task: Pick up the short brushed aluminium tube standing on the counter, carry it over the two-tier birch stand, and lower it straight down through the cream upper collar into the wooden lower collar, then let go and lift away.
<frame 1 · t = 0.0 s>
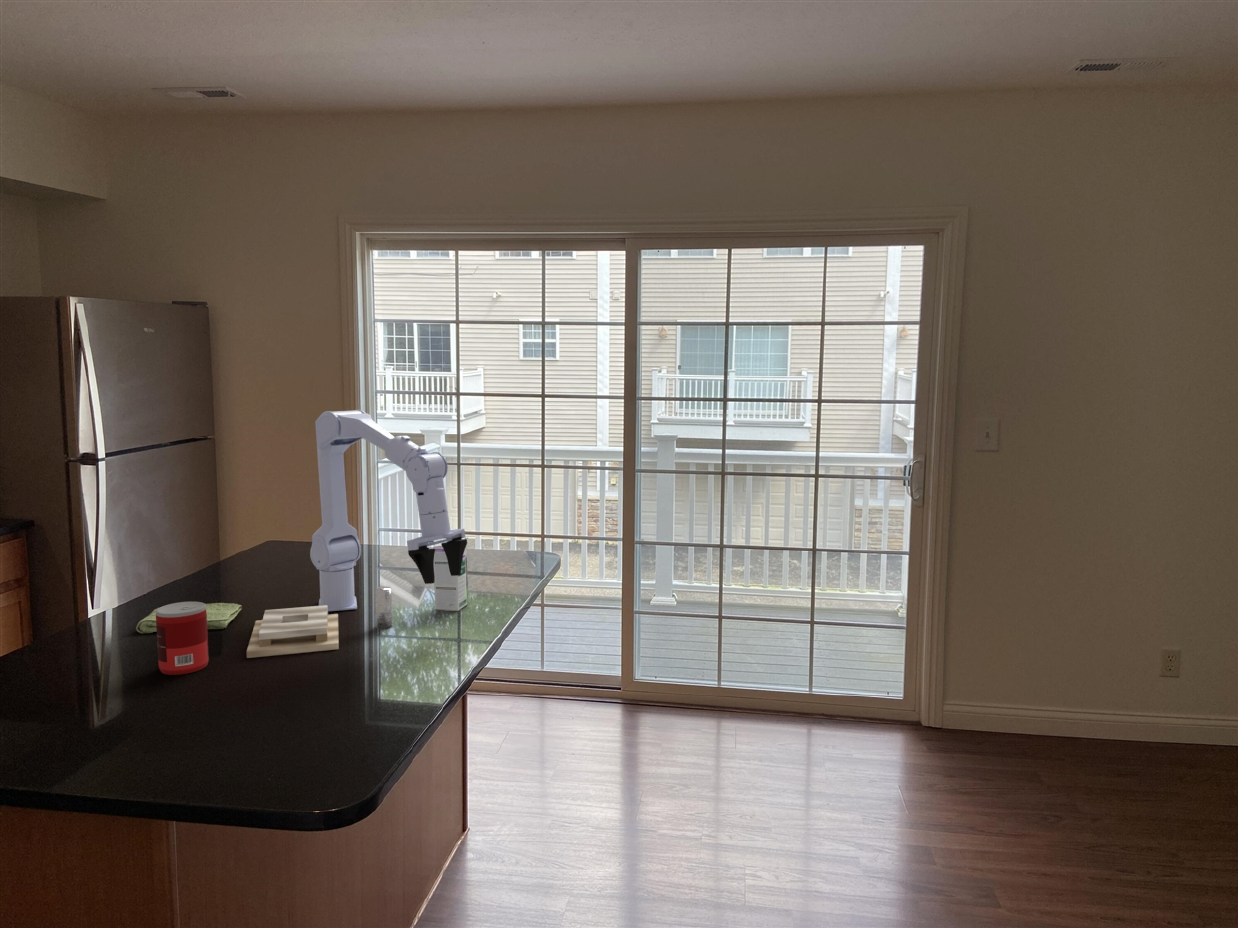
hand: (443, 579, 170), 11 cm above the table, tool pointing down, fingers open, 7 cm apart
syrup box: (451, 607, 188), on the table
washcloth: (191, 625, 176), on the table
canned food: (184, 668, 149), on the table
collar stand: (295, 637, 166), on the table
tube: (384, 626, 173), on the table
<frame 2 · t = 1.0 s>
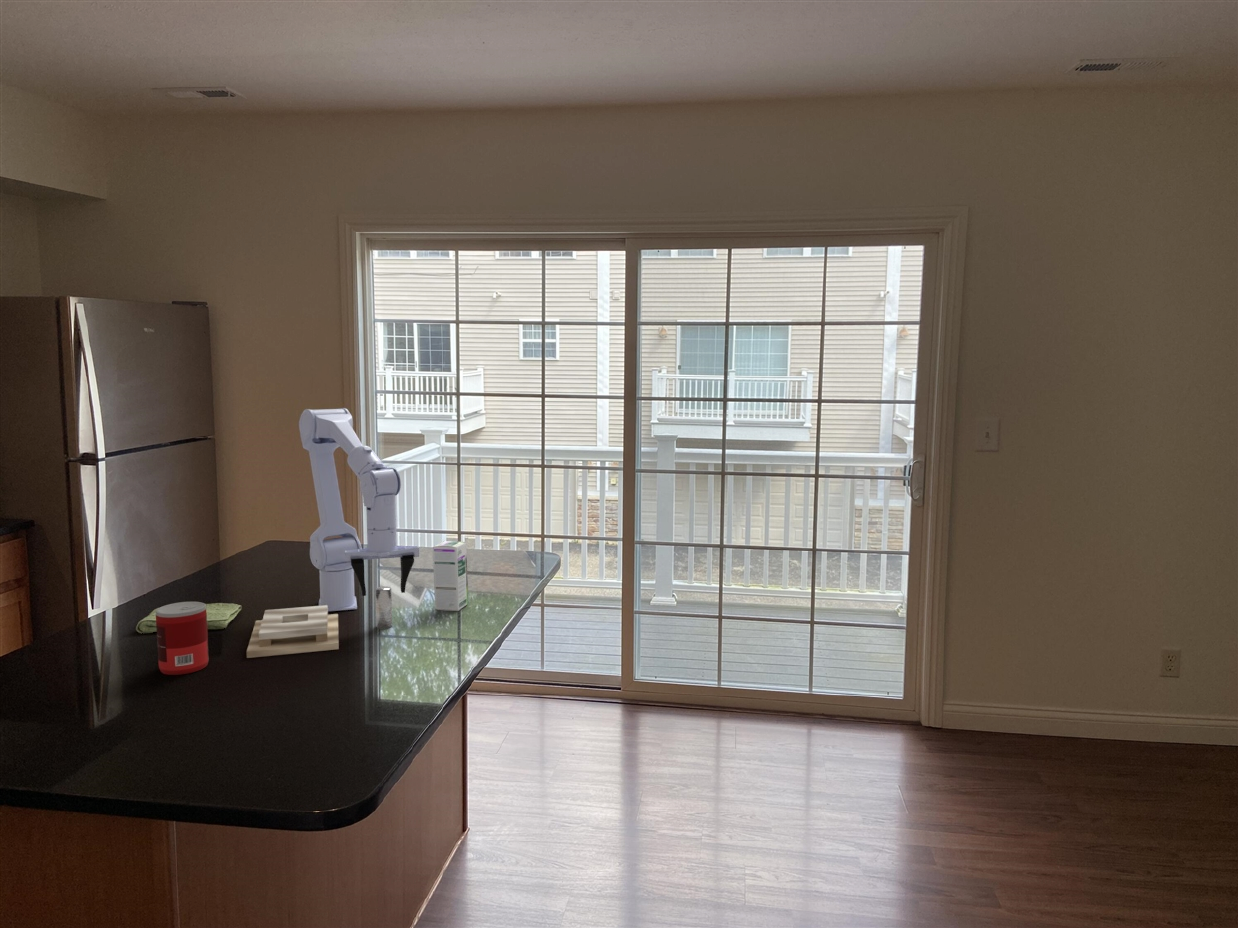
hand: (383, 593, 173), 7 cm above the table, tool pointing down, fingers open, 7 cm apart
nothing on the table moved.
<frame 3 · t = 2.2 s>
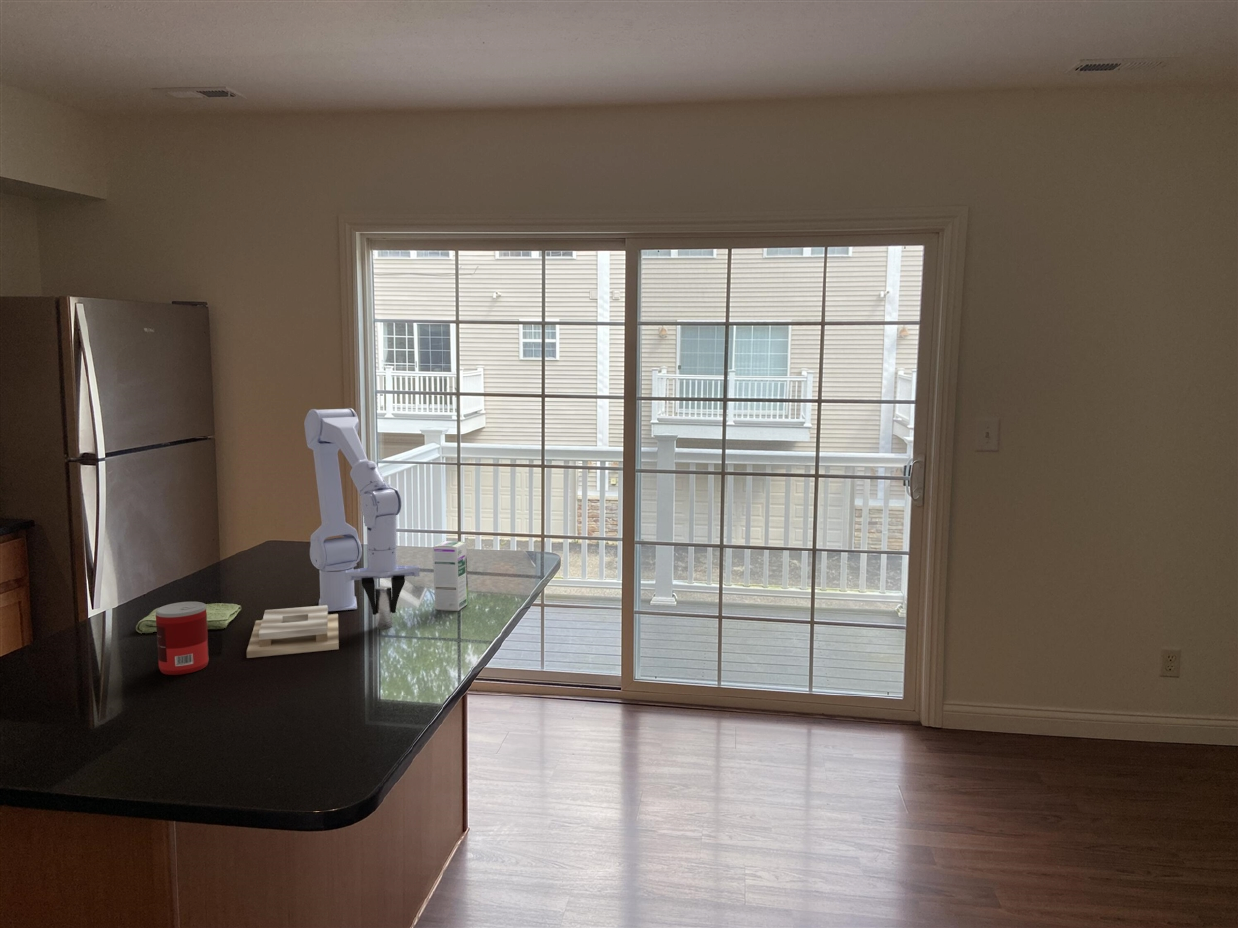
hand: (383, 612, 173), 3 cm above the table, tool pointing down, fingers closed on tube, 3 cm apart
tube: (384, 626, 173), on the table, touching gripper
everything else where it was.
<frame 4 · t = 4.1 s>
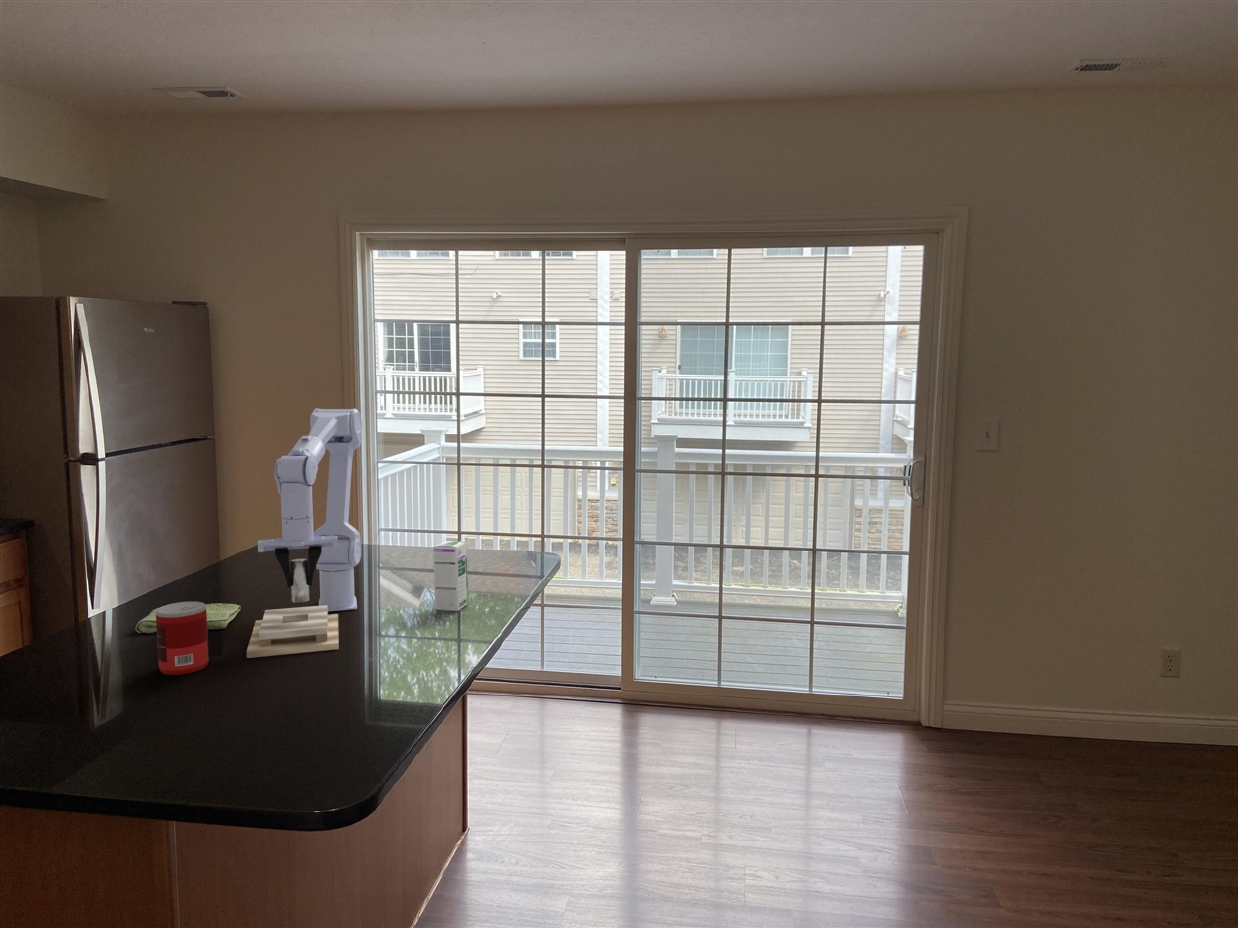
hand: (300, 585, 165), 10 cm above the table, tool pointing down, fingers closed on tube, 3 cm apart
tube: (300, 600, 166), point 7 cm above the table, touching gripper
everything else where it was.
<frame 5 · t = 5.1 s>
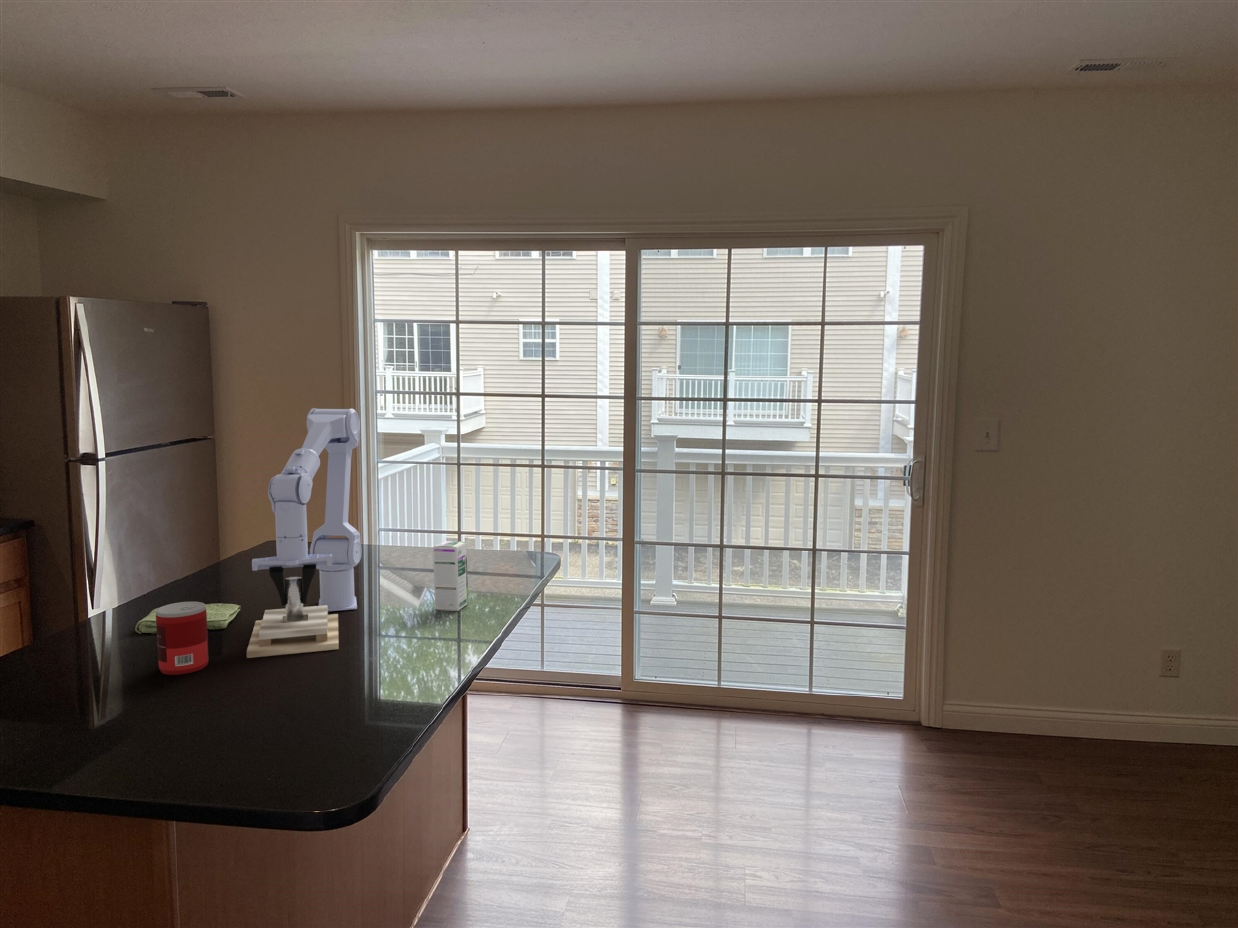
hand: (294, 603, 165), 7 cm above the table, tool pointing down, fingers closed on tube, 3 cm apart
tube: (295, 618, 166), point 4 cm above the table, touching gripper
everything else where it was.
when the fingers open (5 cm above the table, at t = 6.0 s): tube drops 2 cm, resting in collar stand.
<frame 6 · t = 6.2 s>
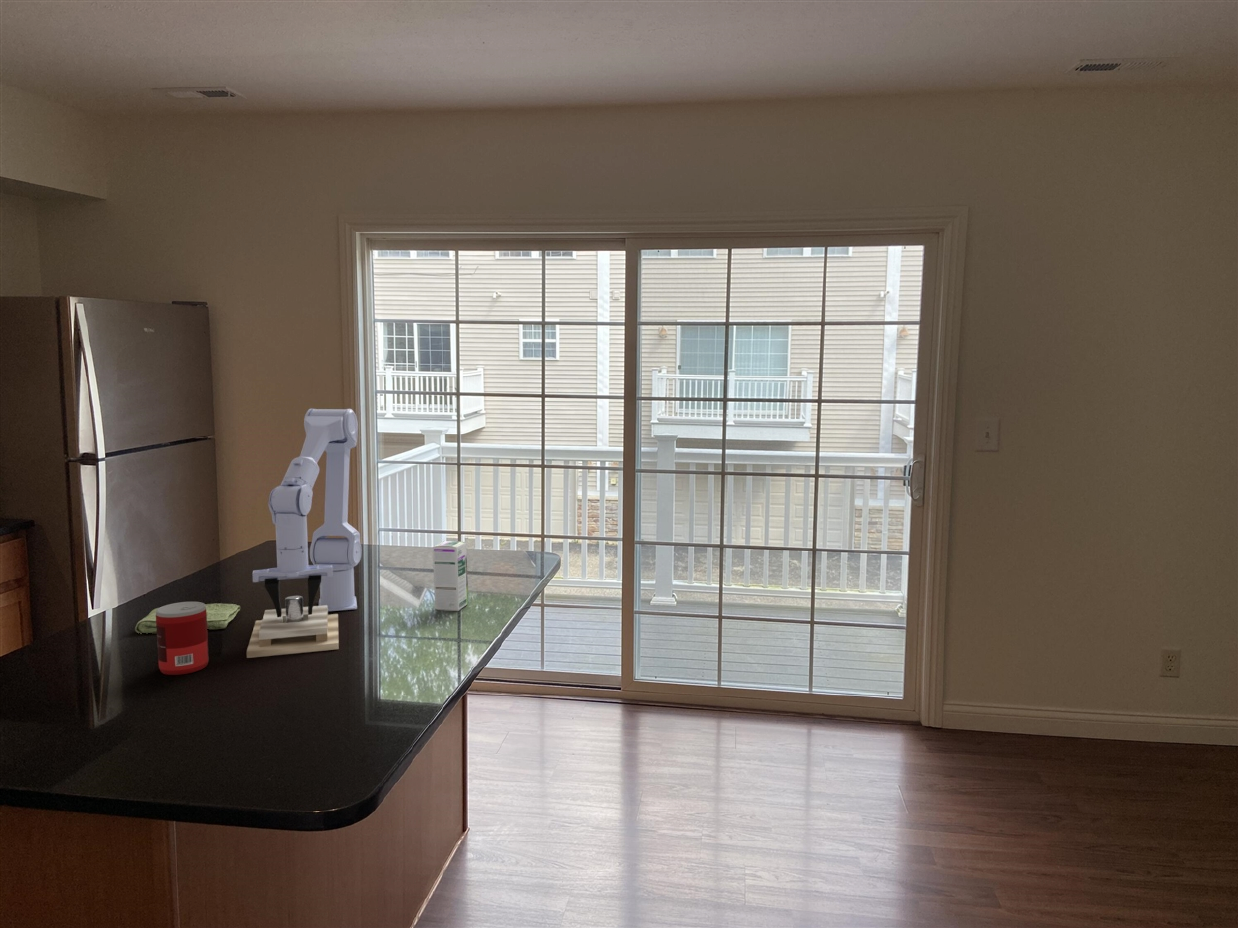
hand: (294, 614, 166), 5 cm above the table, tool pointing down, fingers open, 5 cm apart
tube: (295, 637, 166), resting in collar stand
everything else where it was.
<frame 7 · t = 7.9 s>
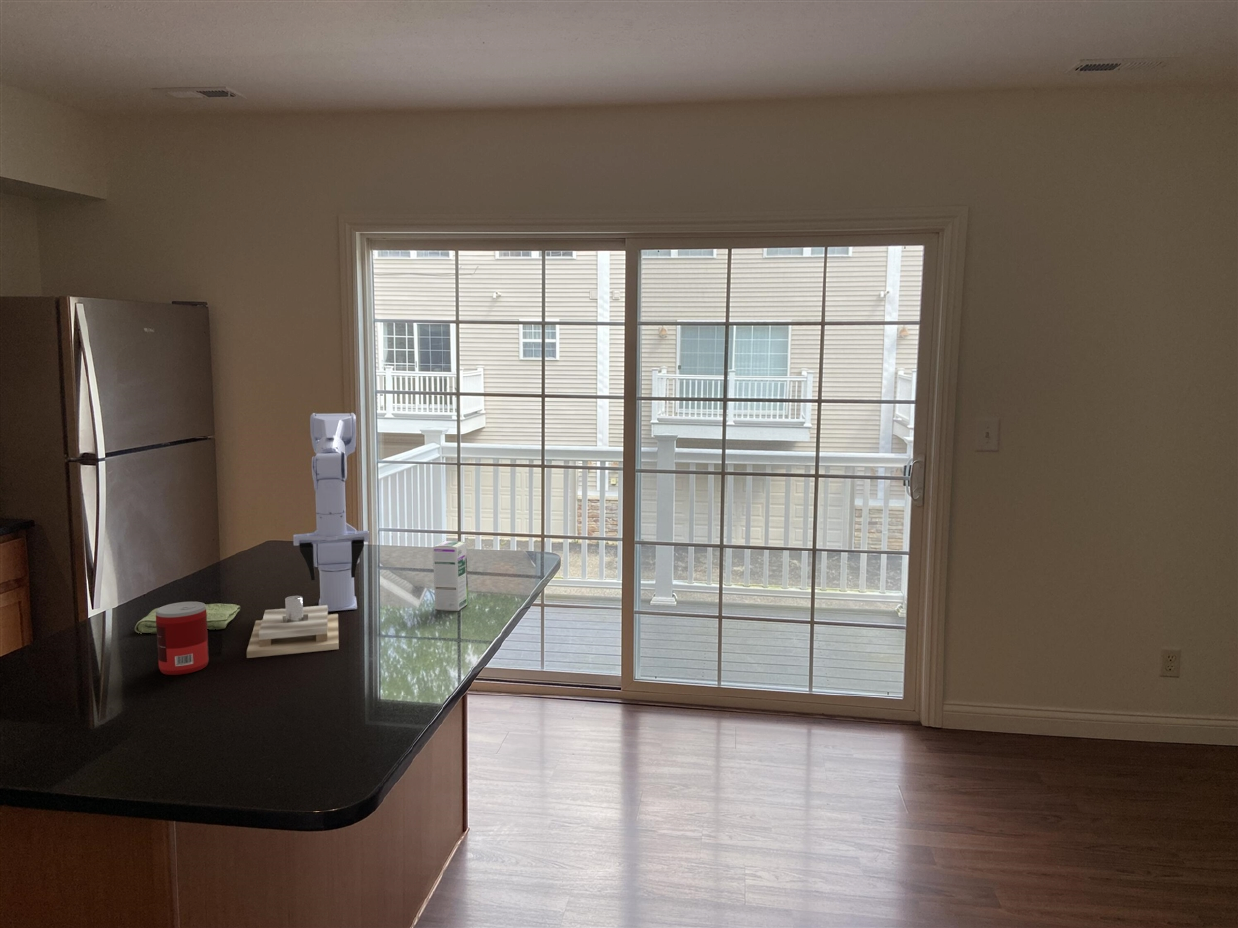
hand: (333, 577, 172), 10 cm above the table, tool pointing down, fingers open, 7 cm apart
nothing on the table moved.
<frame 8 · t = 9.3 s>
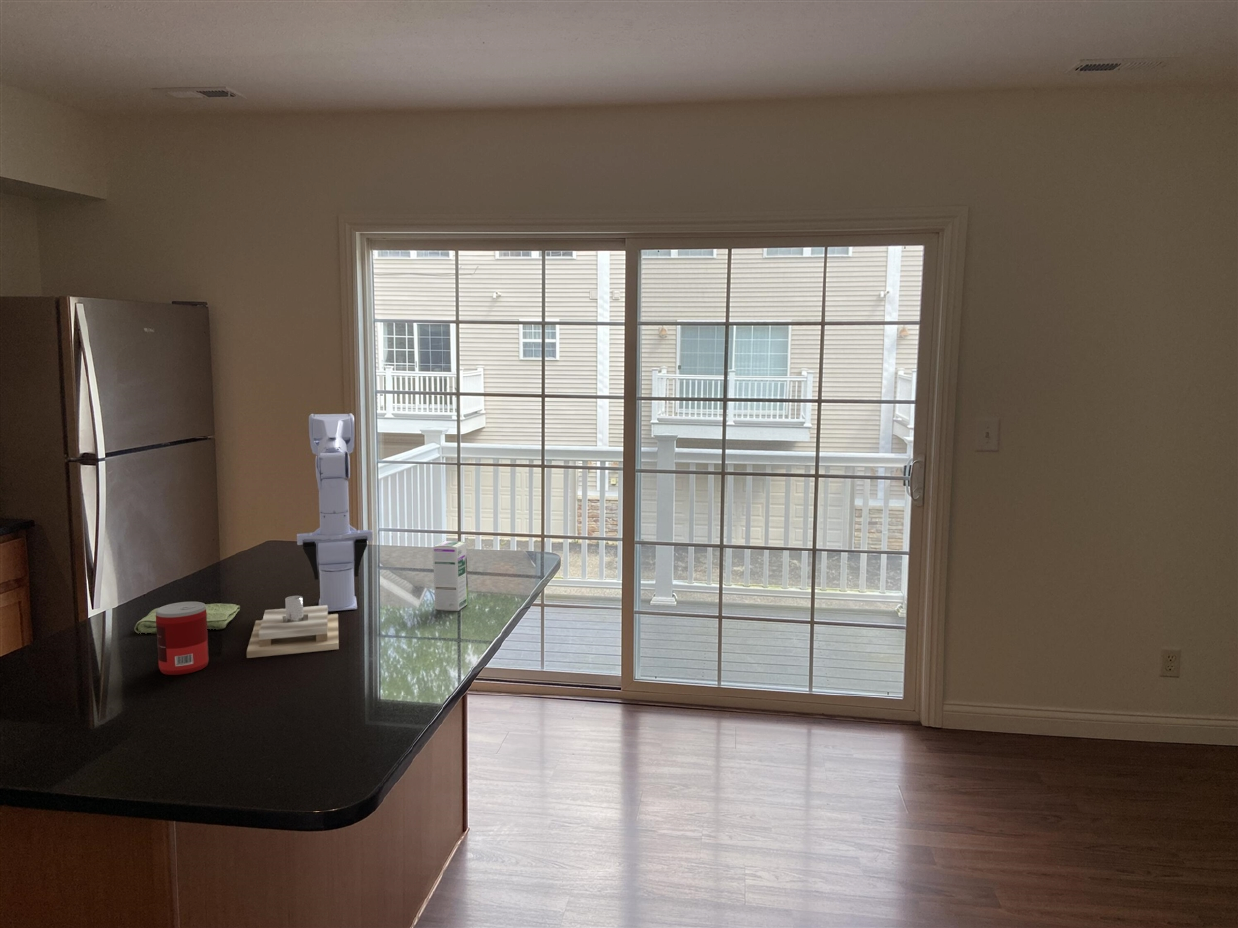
hand: (336, 577, 172), 10 cm above the table, tool pointing down, fingers open, 7 cm apart
nothing on the table moved.
at the end: tube 0.0 cm off-centre on the collar stand, point 0.0 cm above the collar stand's base; tube tilted 0°; the gripper is holding nothing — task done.
